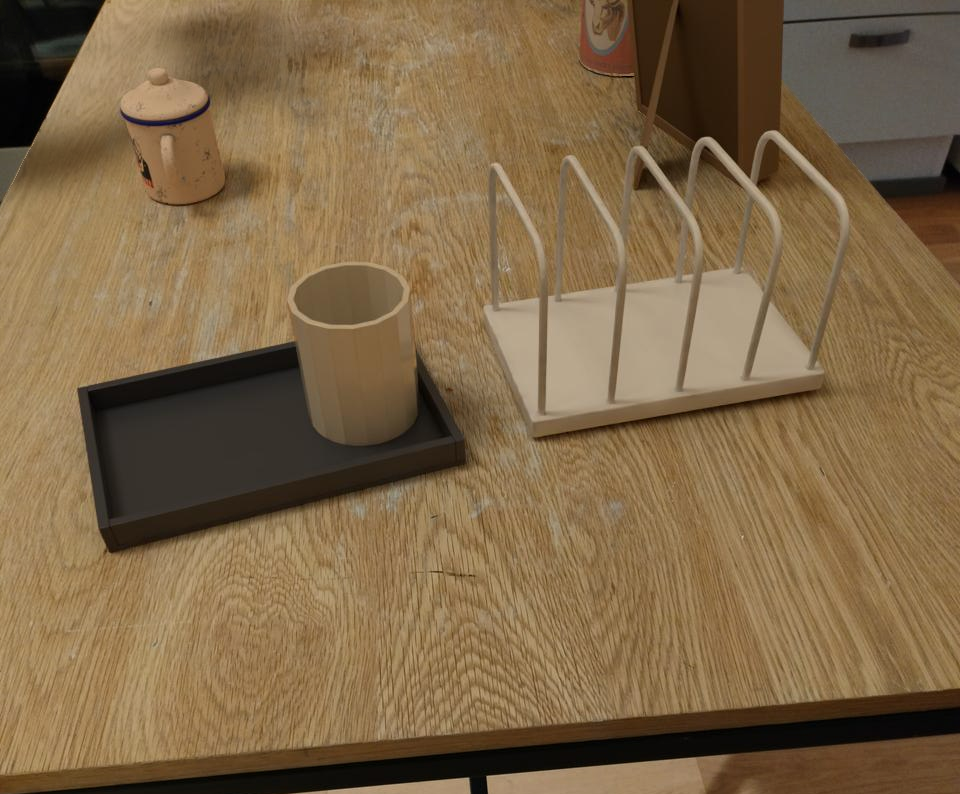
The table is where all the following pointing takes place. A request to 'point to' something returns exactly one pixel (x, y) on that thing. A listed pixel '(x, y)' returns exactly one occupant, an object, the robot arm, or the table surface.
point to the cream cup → (356, 351)
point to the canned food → (606, 36)
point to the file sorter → (653, 317)
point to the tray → (235, 446)
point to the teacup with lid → (173, 139)
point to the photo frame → (710, 75)
